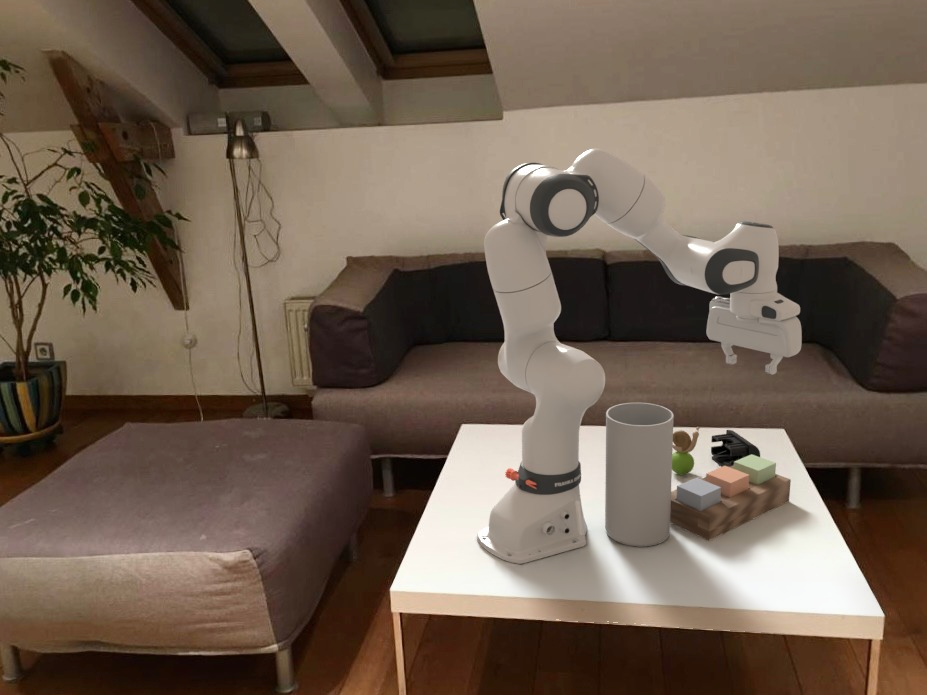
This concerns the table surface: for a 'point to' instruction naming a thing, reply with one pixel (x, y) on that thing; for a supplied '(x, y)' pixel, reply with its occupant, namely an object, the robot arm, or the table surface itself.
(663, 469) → the cylinder vase
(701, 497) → the slate key
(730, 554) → the table surface
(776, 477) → the key panel
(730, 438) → the end cap
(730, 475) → the terracotta key
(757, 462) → the sage key
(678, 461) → the snail figurine
